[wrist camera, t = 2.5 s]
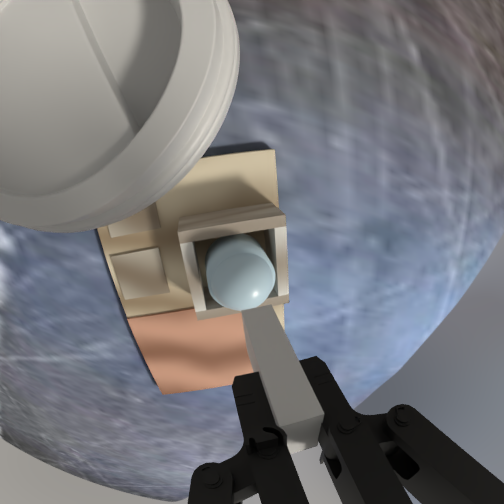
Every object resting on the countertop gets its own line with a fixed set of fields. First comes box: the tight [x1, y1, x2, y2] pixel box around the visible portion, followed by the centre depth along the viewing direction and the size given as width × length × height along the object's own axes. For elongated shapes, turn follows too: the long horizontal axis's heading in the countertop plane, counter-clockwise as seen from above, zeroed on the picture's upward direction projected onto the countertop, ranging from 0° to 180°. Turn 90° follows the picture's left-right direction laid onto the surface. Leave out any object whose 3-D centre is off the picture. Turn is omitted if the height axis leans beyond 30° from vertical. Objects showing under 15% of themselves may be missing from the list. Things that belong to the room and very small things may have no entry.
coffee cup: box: [0, 0, 240, 233], centre depth 10 cm, size 10×10×15 cm
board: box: [97, 149, 289, 395], centre depth 22 cm, size 23×14×4 cm, turn 5°
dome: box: [205, 233, 275, 311], centre depth 19 cm, size 4×4×5 cm
